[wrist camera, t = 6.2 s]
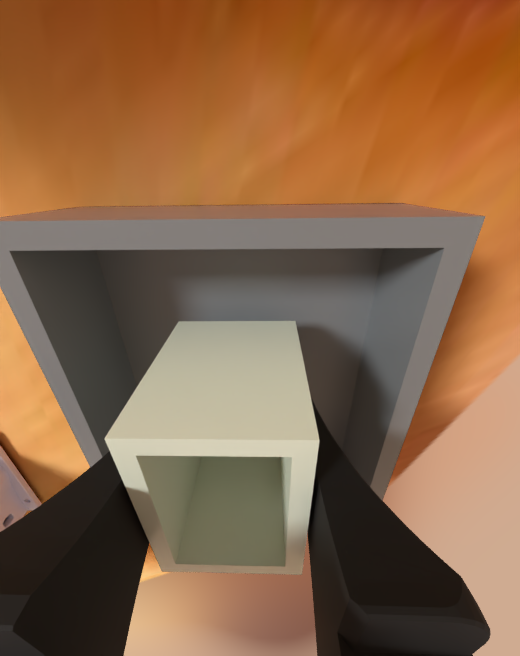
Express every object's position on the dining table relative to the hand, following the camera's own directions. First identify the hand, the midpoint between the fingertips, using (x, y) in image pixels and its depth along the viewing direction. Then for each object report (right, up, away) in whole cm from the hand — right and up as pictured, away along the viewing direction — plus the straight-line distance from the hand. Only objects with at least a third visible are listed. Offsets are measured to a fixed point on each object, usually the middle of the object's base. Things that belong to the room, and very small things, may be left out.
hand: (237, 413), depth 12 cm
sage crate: (0, +1, +1) cm, 2 cm away
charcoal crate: (0, +2, +4) cm, 4 cm away
